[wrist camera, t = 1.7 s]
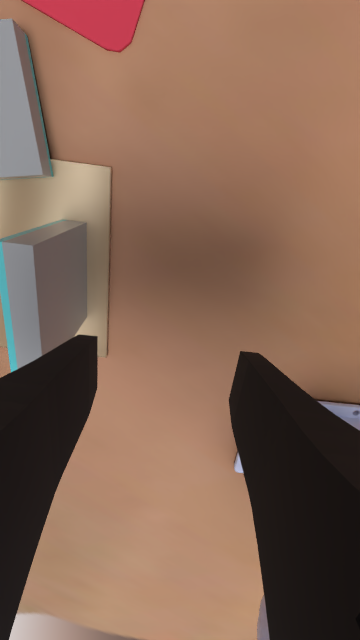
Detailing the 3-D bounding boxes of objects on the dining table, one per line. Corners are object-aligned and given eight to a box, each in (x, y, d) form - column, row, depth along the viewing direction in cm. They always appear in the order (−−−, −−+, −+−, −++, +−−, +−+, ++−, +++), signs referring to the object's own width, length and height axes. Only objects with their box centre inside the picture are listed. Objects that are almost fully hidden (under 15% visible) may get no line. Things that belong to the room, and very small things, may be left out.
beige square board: (111, 167, 16) (110, 167, 16) (107, 355, 21) (106, 357, 21) (-119, 136, 16) (-124, 135, 15) (-68, 337, 21) (-71, 339, 20)
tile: (86, 222, 17) (32, 245, 11) (87, 316, 20) (43, 380, 13) (61, 219, 17) (-7, 240, 11) (65, 314, 20) (11, 377, 13)
